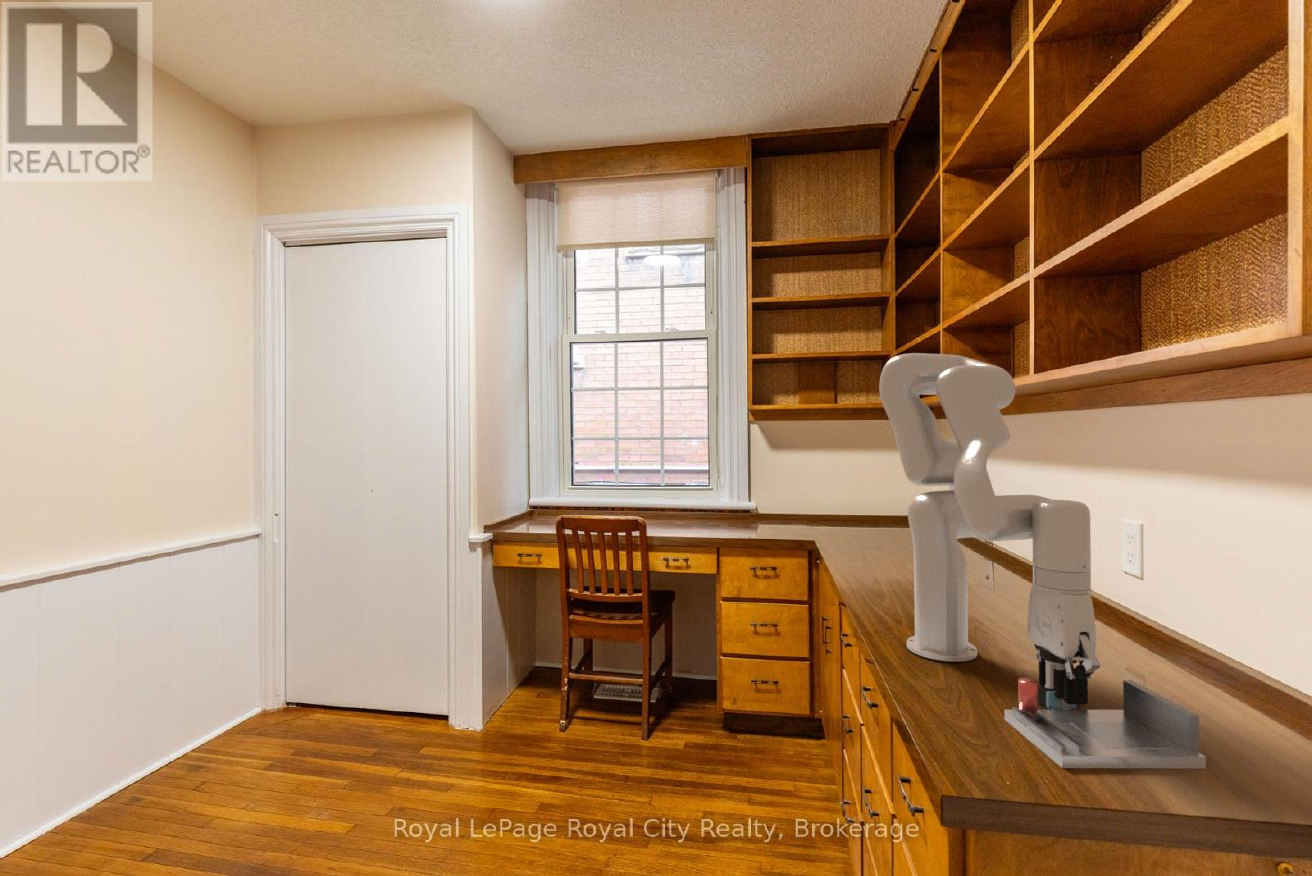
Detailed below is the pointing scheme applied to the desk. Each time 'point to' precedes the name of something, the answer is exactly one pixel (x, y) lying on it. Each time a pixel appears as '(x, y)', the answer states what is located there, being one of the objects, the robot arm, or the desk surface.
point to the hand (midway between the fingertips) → (1062, 693)
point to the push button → (1054, 682)
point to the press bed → (1117, 733)
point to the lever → (1028, 697)
